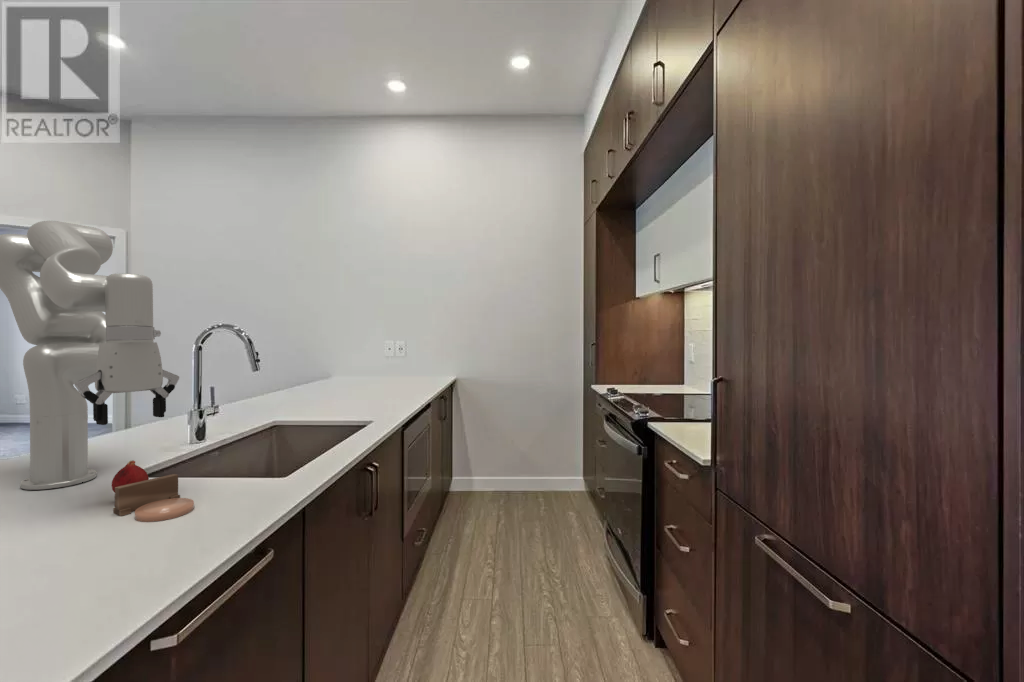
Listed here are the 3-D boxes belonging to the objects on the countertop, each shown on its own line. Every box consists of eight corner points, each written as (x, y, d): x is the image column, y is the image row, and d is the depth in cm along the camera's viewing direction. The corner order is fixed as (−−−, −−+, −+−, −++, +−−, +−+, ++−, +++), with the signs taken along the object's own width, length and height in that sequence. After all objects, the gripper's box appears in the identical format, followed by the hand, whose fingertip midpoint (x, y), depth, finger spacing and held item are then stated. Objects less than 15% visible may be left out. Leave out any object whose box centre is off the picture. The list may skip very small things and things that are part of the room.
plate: (125, 515, 88) (125, 509, 88) (178, 501, 96) (178, 495, 96) (150, 525, 84) (149, 518, 84) (203, 509, 91) (203, 502, 91)
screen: (113, 513, 89) (113, 486, 89) (172, 497, 98) (172, 473, 98) (120, 516, 88) (120, 489, 88) (180, 499, 96) (179, 475, 96)
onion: (127, 506, 93) (127, 465, 93) (104, 504, 94) (103, 464, 94) (155, 496, 98) (155, 458, 98) (132, 494, 100) (132, 456, 99)
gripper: (168, 336, 105) (169, 413, 105) (66, 336, 90) (67, 426, 90) (186, 335, 101) (187, 415, 102) (83, 335, 86) (85, 429, 86)
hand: (131, 420), depth 96 cm, fingers open, 9 cm apart
